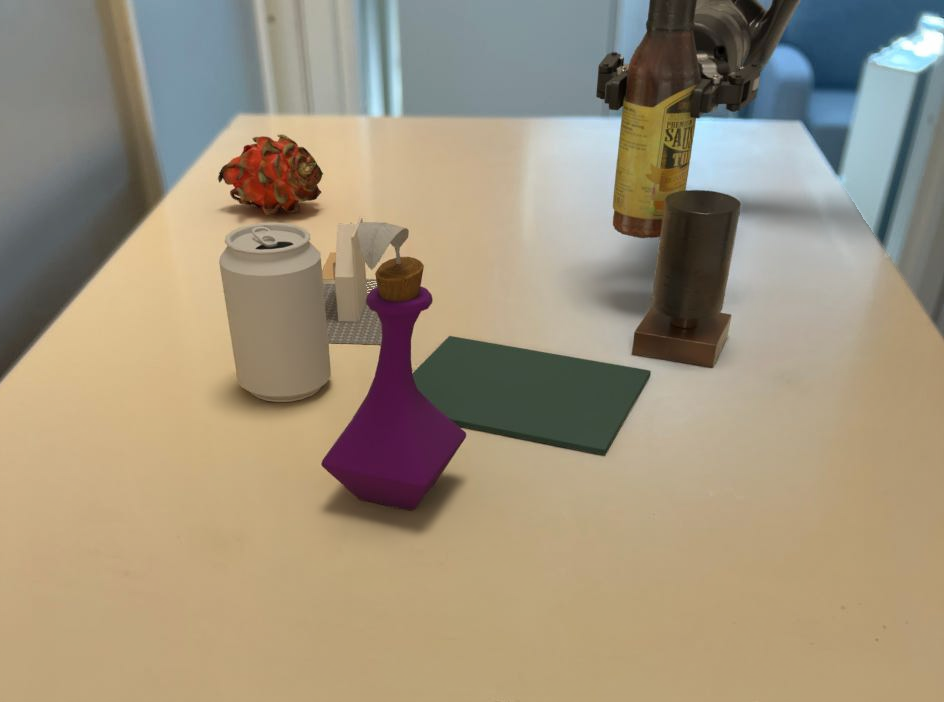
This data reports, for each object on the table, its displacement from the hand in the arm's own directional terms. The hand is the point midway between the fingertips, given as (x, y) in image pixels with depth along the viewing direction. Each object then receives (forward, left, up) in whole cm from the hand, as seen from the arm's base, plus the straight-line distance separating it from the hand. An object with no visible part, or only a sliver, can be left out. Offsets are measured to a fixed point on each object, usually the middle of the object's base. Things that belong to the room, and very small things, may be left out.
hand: (654, 100), depth 81 cm
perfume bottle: (+7, +37, -18) cm, 41 cm away
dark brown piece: (-6, +6, -18) cm, 19 cm away
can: (+22, +26, -18) cm, 38 cm away
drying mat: (+4, +20, -18) cm, 27 cm away
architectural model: (+24, +10, -18) cm, 31 cm away
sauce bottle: (0, -2, -11) cm, 11 cm away
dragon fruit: (+45, -12, -18) cm, 50 cm away
